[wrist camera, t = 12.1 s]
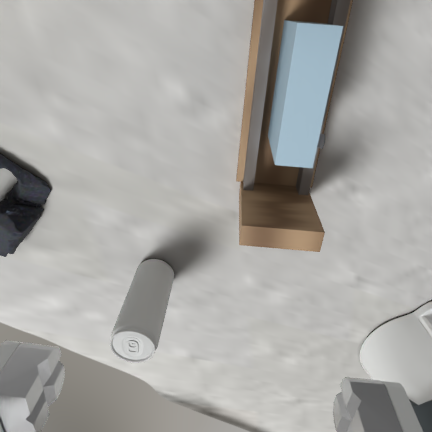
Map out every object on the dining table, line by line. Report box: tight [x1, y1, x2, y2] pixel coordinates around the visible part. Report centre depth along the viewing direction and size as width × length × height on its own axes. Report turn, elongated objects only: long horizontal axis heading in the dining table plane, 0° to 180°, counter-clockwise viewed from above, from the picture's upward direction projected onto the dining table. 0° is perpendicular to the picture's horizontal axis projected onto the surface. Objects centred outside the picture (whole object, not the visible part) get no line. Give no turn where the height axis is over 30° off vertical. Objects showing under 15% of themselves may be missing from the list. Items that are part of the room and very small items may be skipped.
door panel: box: [268, 20, 343, 168], centre depth 29 cm, size 4×10×8 cm, turn 176°
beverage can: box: [110, 259, 174, 363], centre depth 41 cm, size 5×5×12 cm
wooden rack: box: [236, 0, 353, 252], centre depth 30 cm, size 8×24×10 cm, turn 176°
